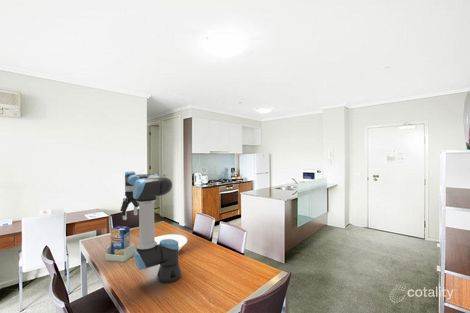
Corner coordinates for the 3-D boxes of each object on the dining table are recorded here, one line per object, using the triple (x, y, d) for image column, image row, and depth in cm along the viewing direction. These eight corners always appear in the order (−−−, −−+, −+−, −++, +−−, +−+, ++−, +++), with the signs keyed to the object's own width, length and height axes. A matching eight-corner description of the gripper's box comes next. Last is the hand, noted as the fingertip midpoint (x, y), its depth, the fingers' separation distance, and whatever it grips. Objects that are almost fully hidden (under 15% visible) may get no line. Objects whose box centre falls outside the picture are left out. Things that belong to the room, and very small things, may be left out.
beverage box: (124, 259, 160) (123, 229, 160) (111, 257, 162) (110, 229, 162) (129, 254, 167) (129, 226, 167) (117, 253, 168) (117, 226, 168)
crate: (134, 254, 169) (134, 243, 169) (123, 262, 157) (123, 250, 157) (117, 252, 172) (117, 241, 172) (105, 260, 159) (105, 248, 159)
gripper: (135, 188, 183) (135, 212, 183) (115, 193, 158) (115, 221, 158) (143, 188, 182) (143, 213, 182) (124, 193, 157) (124, 222, 157)
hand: (130, 217), depth 170 cm, fingers open, 13 cm apart
